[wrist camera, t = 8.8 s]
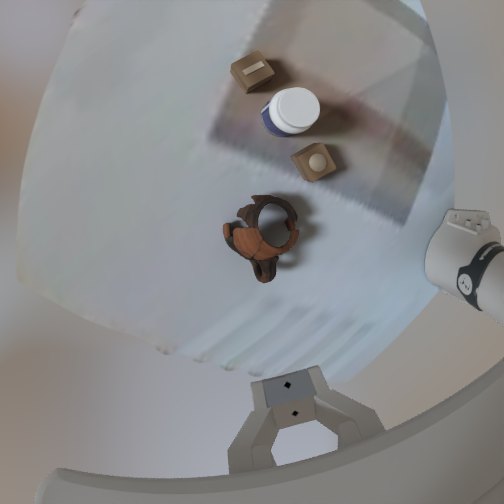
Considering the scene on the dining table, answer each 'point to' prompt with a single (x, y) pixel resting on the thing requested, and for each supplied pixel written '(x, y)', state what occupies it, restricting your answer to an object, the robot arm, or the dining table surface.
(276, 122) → the pill bottle
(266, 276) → the pottery mug
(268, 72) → the walnut block bar
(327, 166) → the walnut block dot
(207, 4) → the dining table surface
